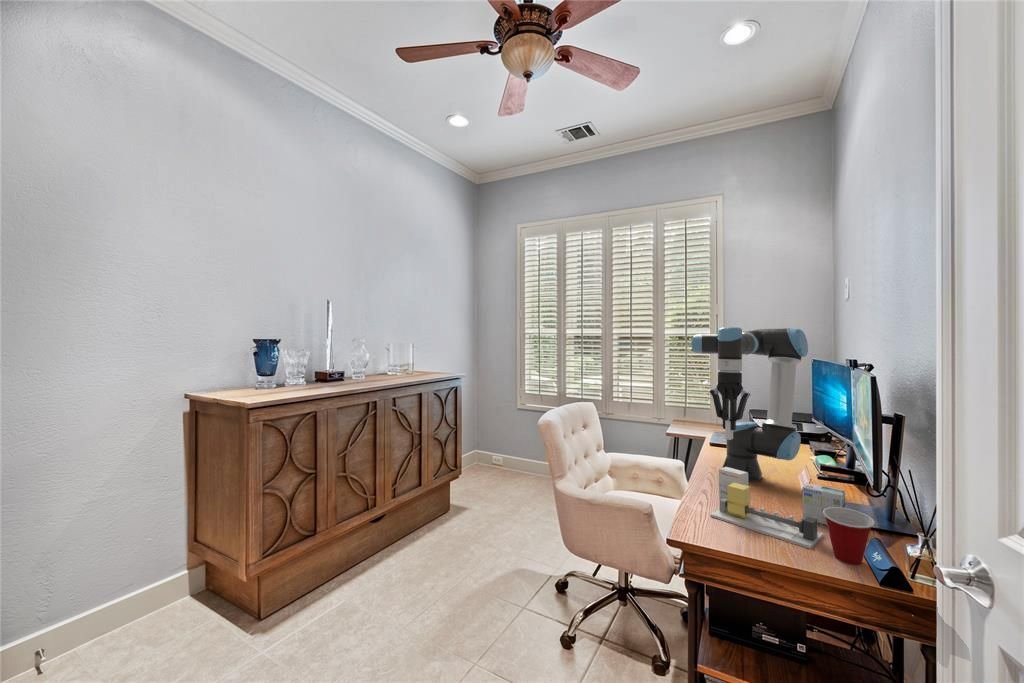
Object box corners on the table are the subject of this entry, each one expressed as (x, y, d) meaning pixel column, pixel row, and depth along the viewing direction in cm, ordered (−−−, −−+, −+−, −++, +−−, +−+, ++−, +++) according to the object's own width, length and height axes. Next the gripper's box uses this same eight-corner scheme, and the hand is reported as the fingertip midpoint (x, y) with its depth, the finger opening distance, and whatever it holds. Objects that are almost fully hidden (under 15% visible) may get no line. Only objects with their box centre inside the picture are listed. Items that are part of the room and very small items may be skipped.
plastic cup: (823, 562, 109) (823, 516, 109) (821, 545, 118) (821, 503, 118) (877, 575, 103) (878, 527, 103) (871, 557, 112) (871, 512, 112)
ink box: (749, 505, 147) (749, 472, 147) (742, 508, 144) (742, 474, 144) (725, 497, 154) (725, 466, 154) (718, 500, 151) (718, 468, 151)
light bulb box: (846, 523, 133) (846, 489, 133) (843, 529, 128) (843, 495, 128) (805, 513, 140) (805, 481, 140) (801, 519, 135) (801, 486, 135)
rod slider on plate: (710, 516, 137) (710, 498, 137) (726, 507, 145) (726, 490, 145) (810, 549, 116) (810, 527, 116) (823, 536, 123) (823, 516, 123)
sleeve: (727, 513, 137) (727, 485, 137) (733, 509, 140) (733, 482, 140) (743, 518, 133) (743, 489, 133) (749, 514, 136) (749, 486, 136)
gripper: (706, 370, 147) (705, 437, 147) (745, 373, 137) (744, 444, 137) (715, 370, 152) (715, 434, 152) (754, 372, 142) (753, 440, 142)
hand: (729, 438), depth 144 cm, fingers closed
